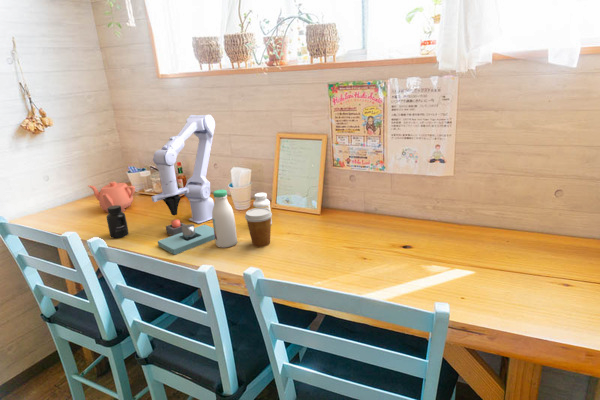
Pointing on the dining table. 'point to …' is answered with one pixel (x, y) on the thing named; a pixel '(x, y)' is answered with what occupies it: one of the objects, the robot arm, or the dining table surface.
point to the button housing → (174, 229)
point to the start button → (175, 223)
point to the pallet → (179, 245)
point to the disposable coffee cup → (259, 226)
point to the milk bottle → (223, 220)
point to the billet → (188, 232)
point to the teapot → (114, 195)
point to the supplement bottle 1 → (117, 222)
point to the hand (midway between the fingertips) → (174, 214)
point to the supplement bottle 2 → (261, 201)
